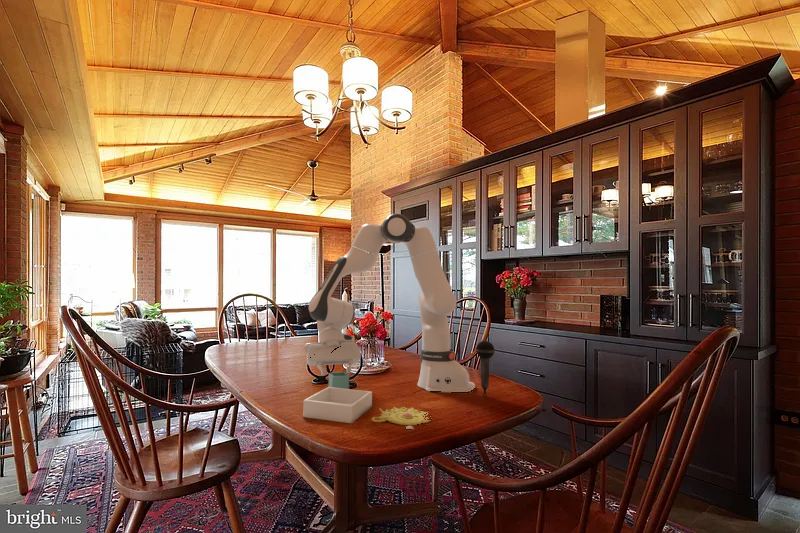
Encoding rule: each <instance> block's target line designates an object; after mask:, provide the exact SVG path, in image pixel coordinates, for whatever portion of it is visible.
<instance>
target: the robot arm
mask: <svg viewBox="0 0 800 533" xmlns="http://www.w3.org/2000/svg"><path fill="white" fill-rule="evenodd" d="M400 243H403V244H404V245H406V247H407V249H408V250H407V251H408V253H409V257H410V261H411V264H412V268H413V269H412V270H413V272H414V275H415V278H416V280H417V281H418V284H419V286H420V289H421V292H420V294H419V295H418V303H419V312H420V321H421V331H422V332H421V349H420V358H419V360H420V373H419V376H418V377H419V378H418V380H417V381H418V382H417V385H416V386H418V387H419V388H421V389H424V390H426V391H427V392H430V391H441V392H440V393H451V392H468V391H471V390H473V389H474V388H475V389H476V384H475V383H474V382H473V381H470V375H469V372H468V370H467V368H465V367H464V366H463V365H461V364H460V363H459V362H458V361H457V360H456V359H455V358H456V351H453V350H451V329H450V326H449V322H448V315H450V314H452V313H453V311H454V310H455V309H456V306H457V297H456V296H455V294H454V293H453V290H452V288H451V286H450V285H451V284H450V283H449V281H448V279H447V277H446V275H445V272H444V269H443V266H442V263H441V259H440V254H439V252H438V248H437V244H436V242H435V239H434V237H433V234H432V233H431V230H430V229H429V228H428V227H427V226H423V225H418V226H415V224H413V223H412V222H411V221H410V219H408V217H406V216H405V215H403V214H400V213H392V214H389V215H388V216H386V217H385V218H384V220H383V222H382V224H378V225H377V224H375V223H364V224H363V225H362V226H361V227H360V229H359V230H358V232H357V234H356V236H355V237H354V239H353V241H352V244H351V246H350V249H349V250H348V252H346V254H345V255H343V256H340V257H338V259H337V260H336V261H335V262H334V263H333V265H332V267H331V268H330V270H329V272H328V273H327V275H326V277H325V279H324V281H323V282H322V283H321V285H320V286H319V288H318V290H317V292H316V293H315V295H314V296H312V298H311V300H310V301H309V303H308V308H307V310H308V313H309V315H310V317H311V318H312V320H314V321H316V325H317V331H318V333H319V335H318V339H319V341H318V342H308V343H306V344H305V346H304V351H305V353H306V365H308V366H309V367H313V366H314V367H315V366H316V368H317V369H318V371H320V375H321V376H326V374H327V370H326V368H324V367H323V366H329V365H346V364H347V366H346V369H345V372H346V373H347V374H351V373H352V366H353V364H358V363H359V362H360V360H361V358H362V354H361V350H360V347H359V345H358V344H357V343H356V342H355V339H356V338H355V336H353V335H350V334H346V333H343V332H342V330H344V329H345V328H347V327H348V326H350V325H351V324H352V323H353V321H354V320H355V318H356V310H355V306H354V305H353V303H352V302H349V301H346V300H342V299H339V298H335V297H332V295H333V293H334V292H335V289H336V288H337V286H338V284H339V283H340V281H341V280H342V278H344V277H345V276H348V275H353V274H363V273H366V272H368V271H370V270H371V269H372V268H373V267H374V265H375V264H376V261H377V259H378V256H379V254H380V251H381V248H382V247H383V245H384V244H392V245H393V244H396V245H397V244H400ZM340 346H341V347H340ZM337 347H339V348H337ZM335 348H337V349H336V350H334V349H335ZM333 350H334V351H333ZM332 351H333V352H332ZM331 352H332V353H331ZM314 354H315V355H314ZM310 357H311V358H310ZM475 389H474V390H475Z"/></svg>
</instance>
